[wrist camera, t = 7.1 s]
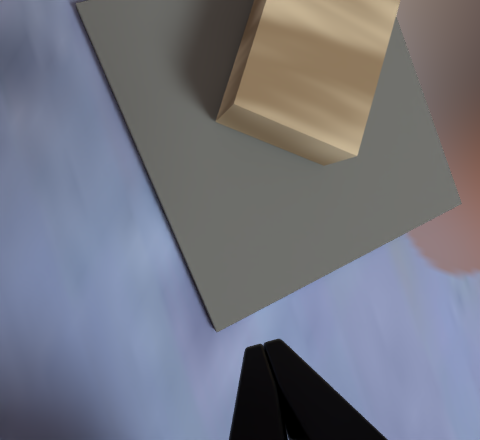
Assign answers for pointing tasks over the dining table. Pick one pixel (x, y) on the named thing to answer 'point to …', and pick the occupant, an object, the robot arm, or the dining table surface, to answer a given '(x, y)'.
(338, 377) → the dining table surface
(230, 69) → the rubber mat
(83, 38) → the dining table surface
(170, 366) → the dining table surface
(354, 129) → the maple tile
